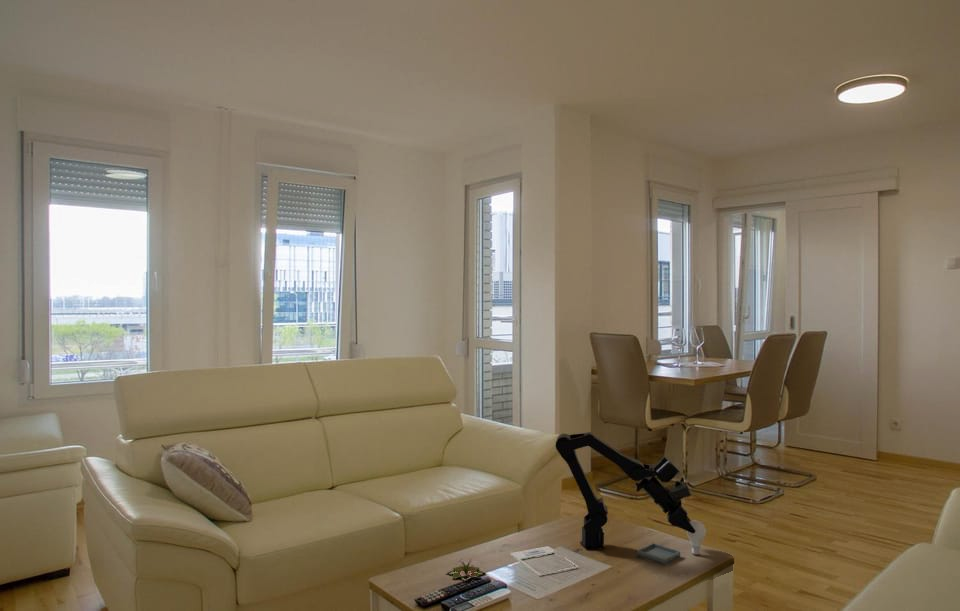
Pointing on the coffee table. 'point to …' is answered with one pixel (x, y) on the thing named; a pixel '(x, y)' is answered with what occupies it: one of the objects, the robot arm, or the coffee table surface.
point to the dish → (658, 553)
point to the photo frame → (534, 553)
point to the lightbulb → (696, 536)
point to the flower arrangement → (465, 570)
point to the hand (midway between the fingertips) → (692, 527)
